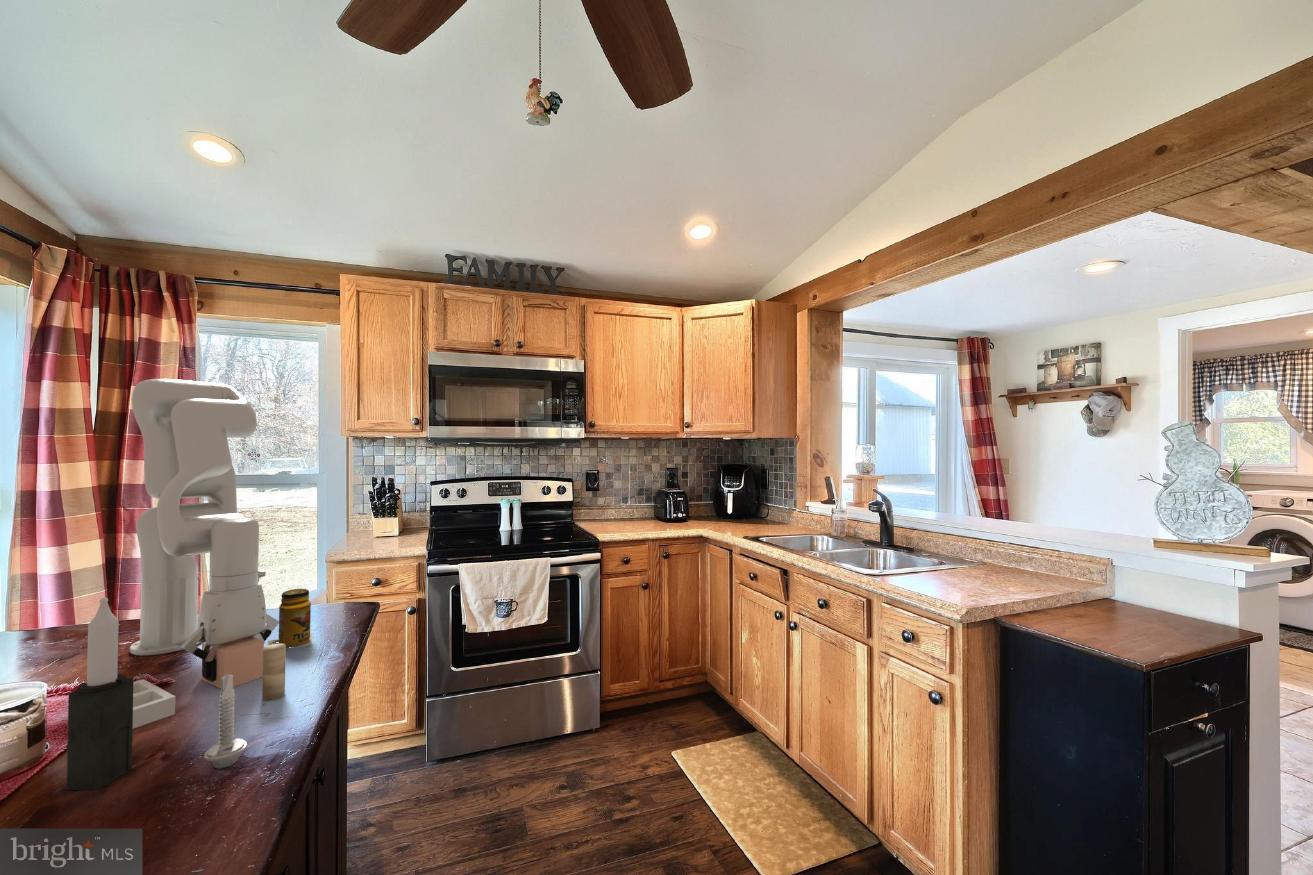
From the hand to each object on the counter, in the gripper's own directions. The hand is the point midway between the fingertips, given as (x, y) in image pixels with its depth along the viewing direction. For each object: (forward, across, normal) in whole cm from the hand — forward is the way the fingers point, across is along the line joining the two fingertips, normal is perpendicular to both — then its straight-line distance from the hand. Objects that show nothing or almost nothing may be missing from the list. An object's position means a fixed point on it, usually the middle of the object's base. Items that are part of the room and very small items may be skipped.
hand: (232, 671), depth 103 cm
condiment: (+1, -15, -9) cm, 18 cm away
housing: (+1, 0, 0) cm, 1 cm away
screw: (+1, +14, +31) cm, 34 cm away
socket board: (+1, +15, +1) cm, 15 cm away
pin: (+1, 0, +15) cm, 15 cm away
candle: (+1, +24, +20) cm, 31 cm away
